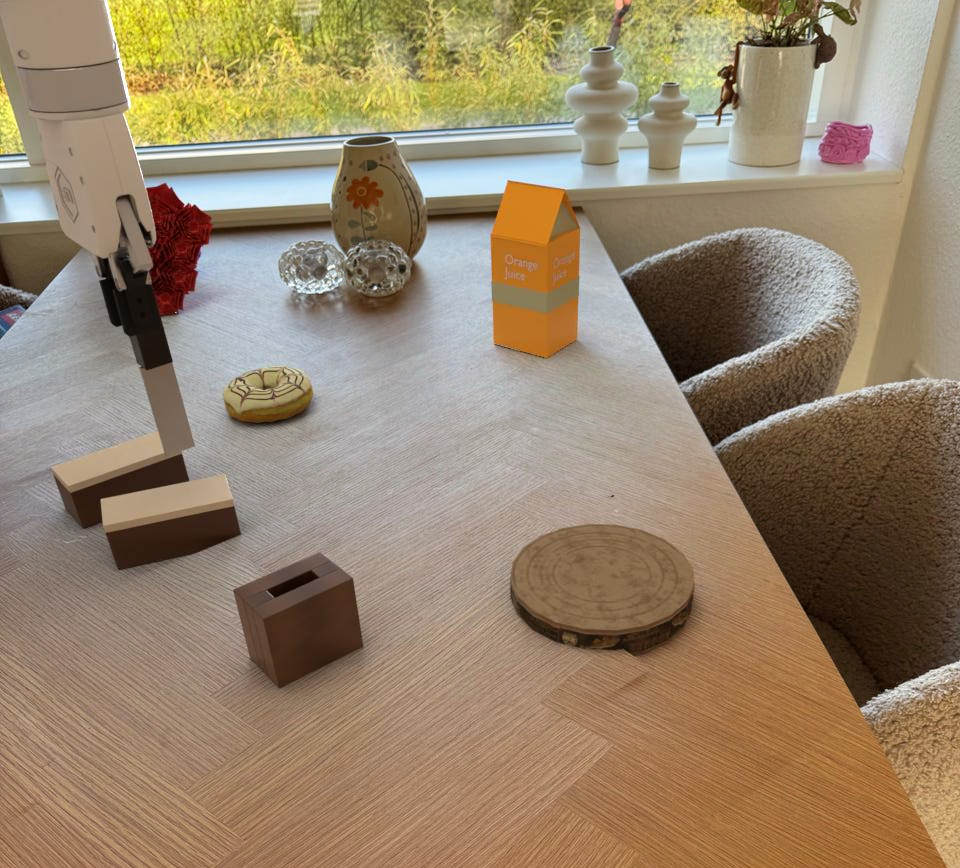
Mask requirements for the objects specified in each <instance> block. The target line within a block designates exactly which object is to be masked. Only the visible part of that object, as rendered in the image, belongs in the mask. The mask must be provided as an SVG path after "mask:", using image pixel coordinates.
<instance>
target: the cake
mask: <svg viewBox="0 0 960 868" xmlns="http://www.w3.org/2000/svg"><path fill="white" fill-rule="evenodd" d="M50 470H51V473H52V476H53V478H54V481H55V484H56V487H57V490H58V492H59V495H60V497H61V501H62V504H63V506H64V508H65V510H66V511H67V512H68V514H69V515H70V516H71V517H72V518H73V519H74V520H75V521H76V523H77V524H78V525H79V526H80V527H81V528H82V529H87V528H89V527H92V526H94V525H97V524H100V523H103V521H102V510H101V499H104V498H109V497H114V496H119V495H124V494H129V493H134V492H139V491H144V490H149V489H154V488H159V487H164V486H169V485H174V484H179V483H184V482H189V481H190V478H189V473H188V470H187V466H186V463H185V459H184V455H183V451H181V452H178V453H175V454H173V455H170V456H165V453H164V450H163V446H162V443H161V440H160V436H159V433H158V430H156V431H154V432H149V433H147V434H144V435H141V436H138V437H135V438H132V439H129V440H127V441H124V442H121V443H118V444H115V445H111V446H109V447H105V448H103V449H100V450H97V451H94V452H91V453H88V454H85V455H83V456H79V457H76V458H73V459H70V460H68V461H64V462H61V463H58V464H54V465H52V466H50Z"/></svg>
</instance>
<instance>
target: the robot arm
mask: <svg viewBox="0 0 960 868" xmlns="http://www.w3.org/2000/svg"><path fill="white" fill-rule="evenodd" d="M0 19H1V20H0V21H1V23H2V26H3V30H4V33H5V37H6V40H7V43H8V47H9V50H10V54H11V58H12V61H13V64H14V67H15V71H16V74H17V78H18V81H19V86H20V89H21V92H22V95H23V99H24V103H25V106H26V110H27V112H28V116H29V118H32V119H34V120H36V124H37V130H38V136H39V142H40V147H41V151H42V156H43V160H44V165H45V169H46V173H47V176H48V177H47V178H48V181H49V184H50V189H51V193H52V197H53V201H54V205H55V209H56V213H57V217H58V221H59V225H60V227H61V230H62V232H63V233H64V235H65V236H66V237H67V238H68V239H70V240H71V241H73V242H75V243H76V244H78V245H79V246H81V247H82V248H84V249H85V250H86V251H89V252H90V254H91V255H90V256H91V259H92V261H93V262H92V263H93V265H94V269H95V272H96V275H97V277H98V278H99V279H100V280H98V282H99V286H100V289H101V293H102V296H103V300H104V304H105V307H106V312H107V315H108V319H109V322H110V324H111V325H112V326H114V327H116V328H118V327H122V330H123V333H124V334H125V335H126V336H127V337H129V336H130V337H131V336H135V335H139V334H142V333H146V332H150V331H153V330H157V329H159V328H160V327H161V322H160V318H159V314H158V310H157V306H156V301H155V297H154V293H153V289H152V285H151V283H152V281H151V276H150V272H149V269H151V268H152V267H153V262H152V259H151V256H150V253H149V251H148V248H151V247H152V246H153V245H154V244H155V241H156V231H155V225H154V220H153V215H152V211H151V206H150V202H149V198H148V194H147V190H146V188H147V186H146V183H145V179H144V176H143V172H142V168H141V165H140V161H139V158H138V155H137V151H136V147H135V144H134V140H133V138H132V135H131V131H130V128H129V124H128V122H127V118H126V116H125V112H127V111H128V110H130V109H131V108H132V103H131V100H130V96H129V95H130V94H129V92H128V87H127V82H126V79H125V74H124V70H123V65H122V60H121V58H120V52H119V47H118V44H117V39H116V34H115V29H114V25H113V22H112V18H111V12H110V9H109V5H108V0H0ZM126 258H128V260H127V261H123V264H122V268H121V264H120V260H122V259H126ZM108 263H110V267H111V271H112V274H113V278H114V282H115V285H116V287H117V289H115V287H114V284H113V281H112V277H111V274H110V271H109V267H108Z"/></svg>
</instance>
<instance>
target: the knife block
mask: <svg viewBox="0 0 960 868" xmlns="http://www.w3.org/2000/svg"><path fill="white" fill-rule="evenodd" d="M232 591H233V595H234V600H235V604H236V608H237V612H238V616H239V619H240V623H241V628H242V630H243V635H244V640H245V643H246V646H247V651H248V655H249V658H250V660H251V661H252V662H253V663H254V664H255V665H256V666H257V667H258V668H259V669H260V670H261V671H262V672H263V673H264V675H266V677H267V678H268V679H270V680H271V682H272V683H273V684H274V685H275V686H276V688H278V689H282V688H283V687H286V686H288V685H290V684H292V683H294V682H297V681H298V680H300V679H301V678H303V677H306V676H308V675H309V674H312V673H314V672H316V671H318V670H319V669H322V668H323V667H326V666H328V665H330V664H331V663H334V662H336V661H338V660H339V659H342V658H344V657H346V656H348V655H350V654H352V653H354V652H355V651H358V650H360V649H361V648H363V647H364V641H363V634H362V628H361V621H360V615H359V614H360V613H359V607H358V601H357V595H356V588H355V582H354V578H353V577H352V576H351V574H349V573H348V572H346V571H345V570H344V569H343V568H341V567H340V566H339V565H338V564H337V563H335V562H334V561H332V560H331V559H330V557H328V556H327V555H326V554H324V553H323V552H322V551H318V552H316V553H314V554H311V555H309V556H307V557H305V558H302V559H300V560H298V561H296V562H294V563H291V564H289V565H286V566H284V567H282V568H280V569H277V570H274V571H273V572H271V573H268V574H266V575H264V576H262V577H261V576H260V577H259V578H256V579H254V580H252V581H250V582H248V583H244V584H243V585H241V586H238V587H236V588H233V590H232Z"/></svg>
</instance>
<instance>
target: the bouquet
mask: <svg viewBox="0 0 960 868" xmlns="http://www.w3.org/2000/svg"><path fill="white" fill-rule="evenodd" d="M146 190H147V194H148V198H149V202H150V206H151V211H152V215H153V220H154V225H155V231H156V241H155V244H154V245H153V246H152V247H151V248H148V251H149V253H150V256H151V259H152V262H153V267H152V268H151V269H149V272H150V276H151V281H152V286H153V290H154V294H155V297H156V301H157V305H158V308H159V312H160V315H161V316H163V315H172V314H171V313H175V312H177V311H178V312H179V311H183V312H184V299H185V295H190V293H189V292H192V293H193V292H194V293H195V290H196V282H197V277H198V275H199V271H198V270H196V269H197V268H198V262H199V260H200V258H201V256H202V249H201V248H202V247H204V246H206V245H209V244H210V236H211V235H210V234H211V232H212V230H213V227H214V223H211V222H212V219H213V217H212V216H211V215H209V214H207V213H206V212H204V210H203V211H202V209H201V208H199V206H197V205H196V204H193V205H192V204H191V203H190V202H187V203H186V205H185V203H184V202H183V201H182V200H181V199H180V198H179V197H178V195H177V194H176V192H175V191H174V188H173V186H170V187H169V186H168V184H167V182H164V183H161V184H159V185H156V186H149V187H146Z"/></svg>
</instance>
